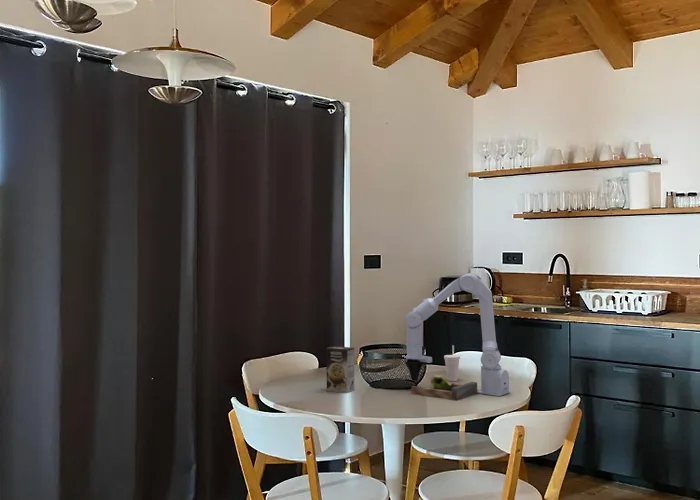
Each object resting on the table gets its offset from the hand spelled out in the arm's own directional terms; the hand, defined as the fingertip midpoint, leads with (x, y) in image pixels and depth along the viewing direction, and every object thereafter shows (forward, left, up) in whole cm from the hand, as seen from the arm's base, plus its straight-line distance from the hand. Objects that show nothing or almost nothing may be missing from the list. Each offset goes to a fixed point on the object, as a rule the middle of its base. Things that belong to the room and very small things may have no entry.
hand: (414, 380), depth 255 cm
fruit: (-11, -1, -4) cm, 11 cm away
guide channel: (-13, 0, -3) cm, 13 cm away
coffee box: (+21, +18, -4) cm, 28 cm away
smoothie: (-2, -23, -4) cm, 23 cm away
